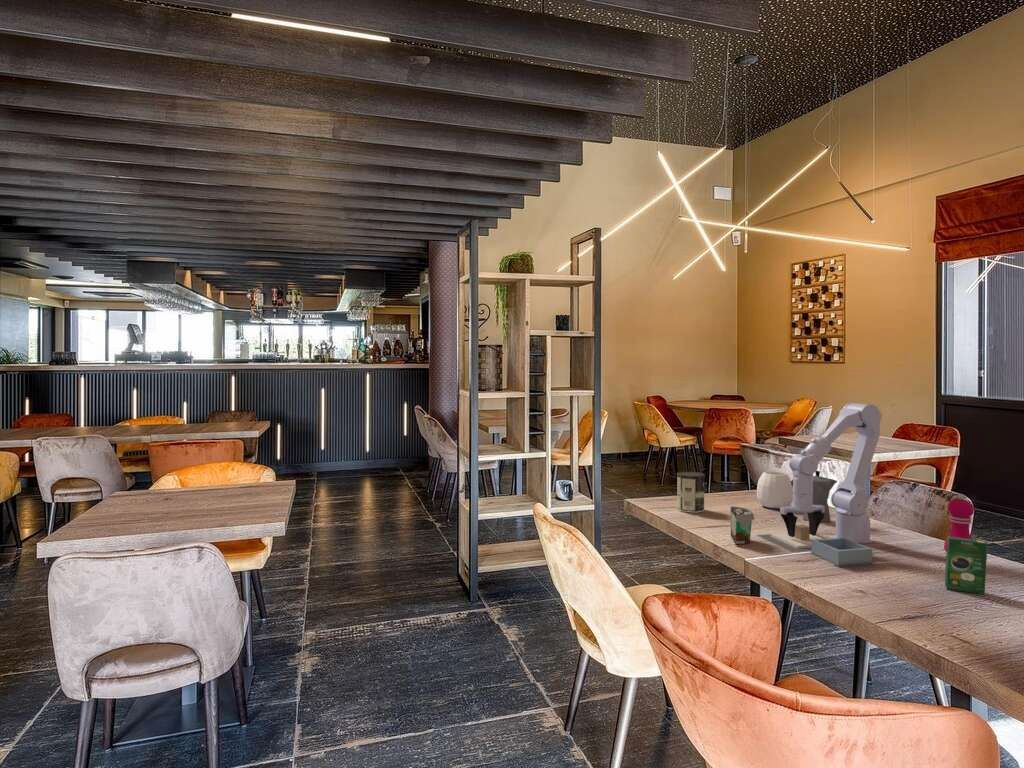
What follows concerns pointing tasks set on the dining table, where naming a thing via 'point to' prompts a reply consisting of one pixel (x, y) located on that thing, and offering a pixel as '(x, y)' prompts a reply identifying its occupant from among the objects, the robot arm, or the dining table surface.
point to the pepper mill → (960, 518)
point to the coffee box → (966, 565)
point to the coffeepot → (821, 494)
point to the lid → (797, 537)
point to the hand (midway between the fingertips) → (802, 535)
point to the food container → (741, 525)
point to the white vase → (775, 489)
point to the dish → (842, 552)
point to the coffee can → (690, 492)
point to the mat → (784, 545)
